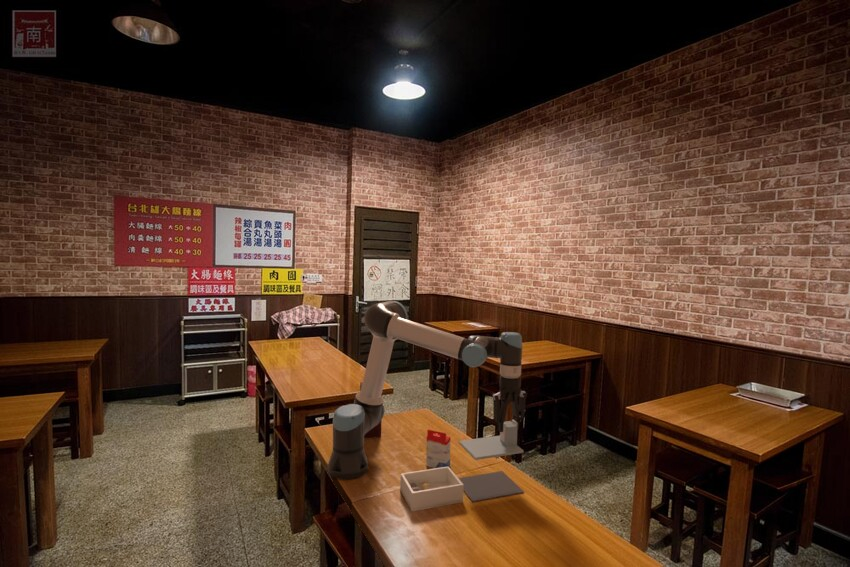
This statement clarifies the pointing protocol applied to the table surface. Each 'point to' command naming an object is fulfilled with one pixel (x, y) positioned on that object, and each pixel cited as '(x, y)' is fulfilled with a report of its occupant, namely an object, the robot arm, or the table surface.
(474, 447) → the lid
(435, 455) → the ink box
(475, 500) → the mat
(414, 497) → the tub
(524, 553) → the table surface
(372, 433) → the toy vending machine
